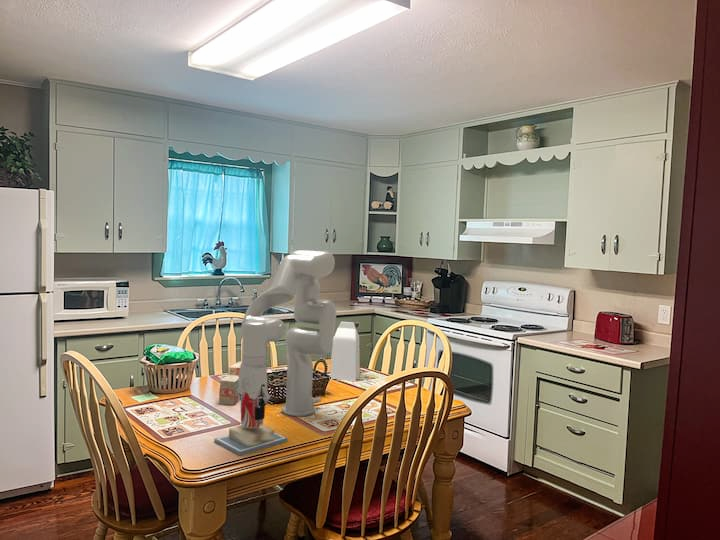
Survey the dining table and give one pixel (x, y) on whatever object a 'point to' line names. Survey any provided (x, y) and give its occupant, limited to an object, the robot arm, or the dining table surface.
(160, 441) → the dining table surface
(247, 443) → the butter dish
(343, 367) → the milk
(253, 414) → the soda can
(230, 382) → the stack of blocks
